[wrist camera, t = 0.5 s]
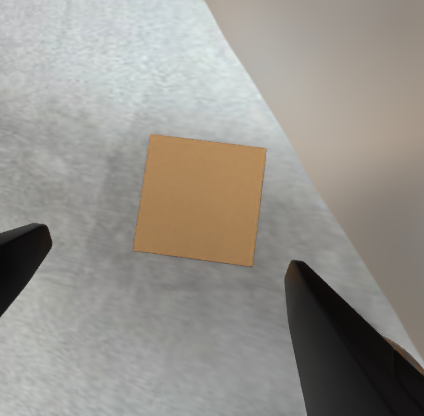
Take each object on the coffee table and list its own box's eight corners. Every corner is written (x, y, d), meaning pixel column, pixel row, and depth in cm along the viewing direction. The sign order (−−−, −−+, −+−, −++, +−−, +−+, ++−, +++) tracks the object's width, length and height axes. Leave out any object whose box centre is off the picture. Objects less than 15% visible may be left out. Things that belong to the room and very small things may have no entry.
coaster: (251, 265, 23) (252, 266, 22) (134, 249, 23) (132, 250, 23) (265, 149, 24) (266, 148, 23) (151, 135, 24) (150, 133, 23)
